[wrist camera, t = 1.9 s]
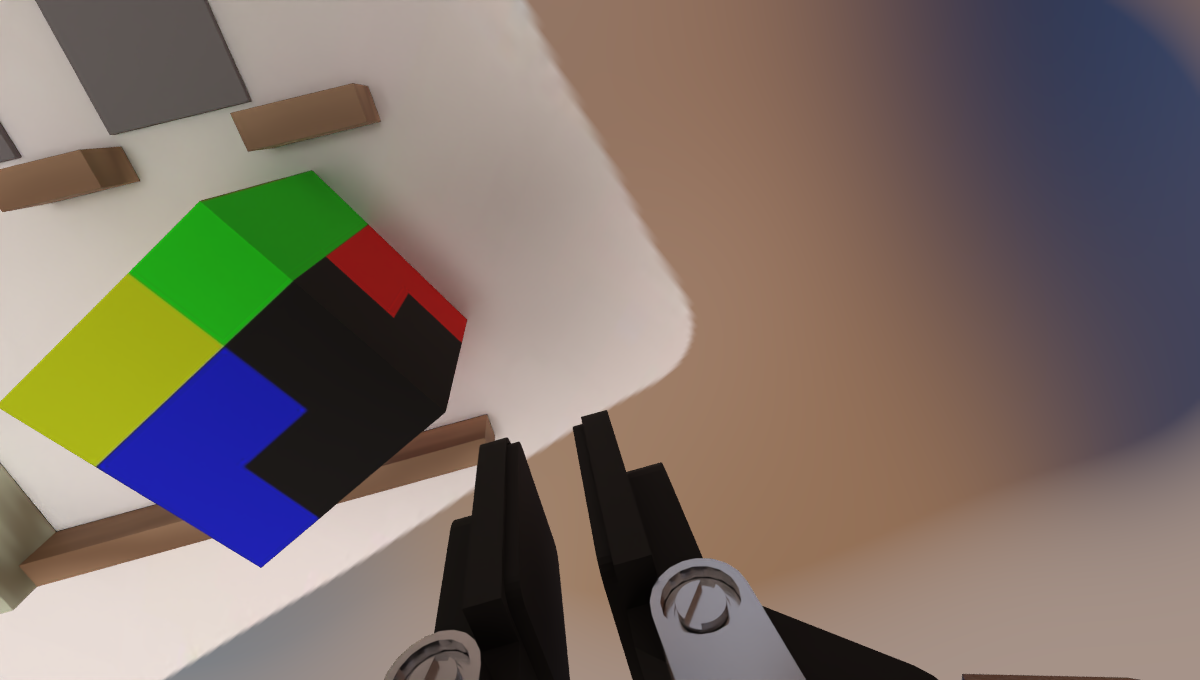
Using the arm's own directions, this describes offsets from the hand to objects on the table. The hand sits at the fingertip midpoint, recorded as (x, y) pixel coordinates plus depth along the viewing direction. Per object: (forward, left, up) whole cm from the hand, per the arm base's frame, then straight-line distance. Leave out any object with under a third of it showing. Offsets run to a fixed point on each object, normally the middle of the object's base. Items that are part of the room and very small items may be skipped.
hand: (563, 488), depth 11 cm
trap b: (-14, -13, -19) cm, 27 cm away
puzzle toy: (0, -11, -19) cm, 22 cm away
